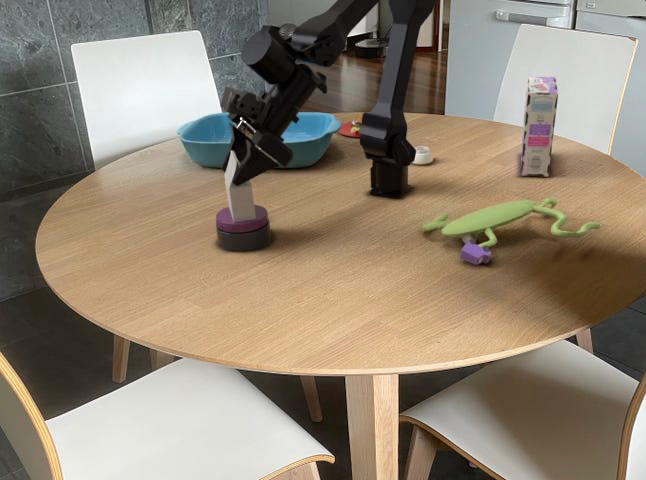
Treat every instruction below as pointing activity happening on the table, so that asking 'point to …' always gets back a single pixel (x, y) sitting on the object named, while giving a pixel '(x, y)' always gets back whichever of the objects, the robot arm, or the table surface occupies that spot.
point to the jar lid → (227, 223)
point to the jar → (244, 239)
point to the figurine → (498, 225)
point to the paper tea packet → (238, 193)
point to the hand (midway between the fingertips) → (228, 177)
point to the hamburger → (352, 127)
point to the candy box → (538, 126)
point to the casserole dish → (303, 137)
